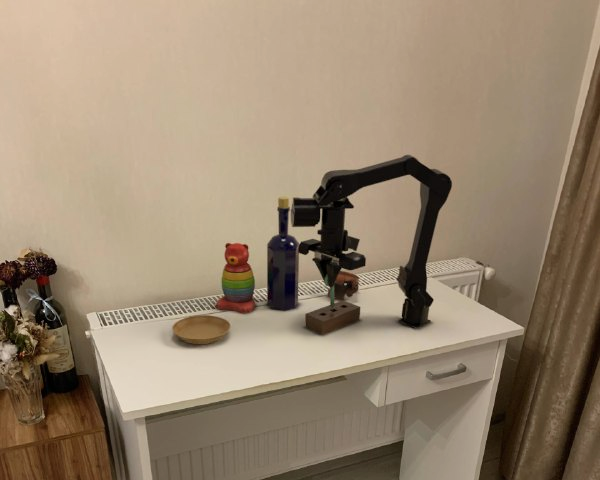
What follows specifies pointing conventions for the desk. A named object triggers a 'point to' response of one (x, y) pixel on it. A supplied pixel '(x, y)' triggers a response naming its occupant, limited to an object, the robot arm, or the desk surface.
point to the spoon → (330, 292)
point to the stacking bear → (237, 280)
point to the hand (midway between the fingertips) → (329, 286)
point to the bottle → (282, 264)
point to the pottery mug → (346, 289)
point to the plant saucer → (201, 329)
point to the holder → (332, 317)
